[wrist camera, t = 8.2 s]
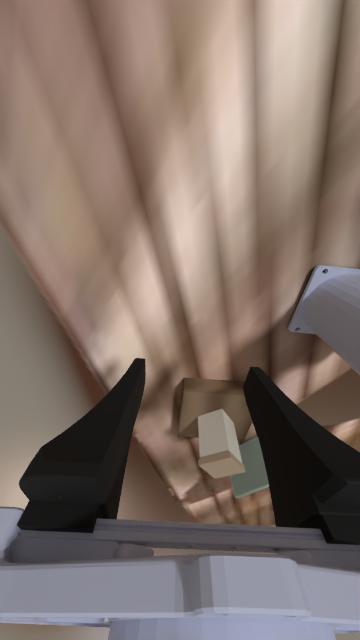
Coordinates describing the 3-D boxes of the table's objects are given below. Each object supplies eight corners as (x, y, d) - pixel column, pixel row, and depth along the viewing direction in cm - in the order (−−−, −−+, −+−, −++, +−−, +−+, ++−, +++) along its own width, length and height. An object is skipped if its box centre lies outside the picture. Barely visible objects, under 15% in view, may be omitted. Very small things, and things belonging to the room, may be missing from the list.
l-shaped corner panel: (225, 449, 39) (234, 496, 32) (275, 423, 34) (297, 473, 28) (262, 467, 43) (276, 513, 36) (311, 446, 38) (337, 495, 32)
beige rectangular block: (222, 407, 27) (231, 457, 22) (234, 422, 29) (245, 471, 24) (196, 416, 29) (198, 465, 23) (209, 430, 30) (214, 478, 25)
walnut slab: (256, 379, 29) (263, 396, 26) (239, 422, 34) (243, 440, 32) (183, 374, 28) (183, 391, 26) (178, 419, 34) (177, 436, 31)
